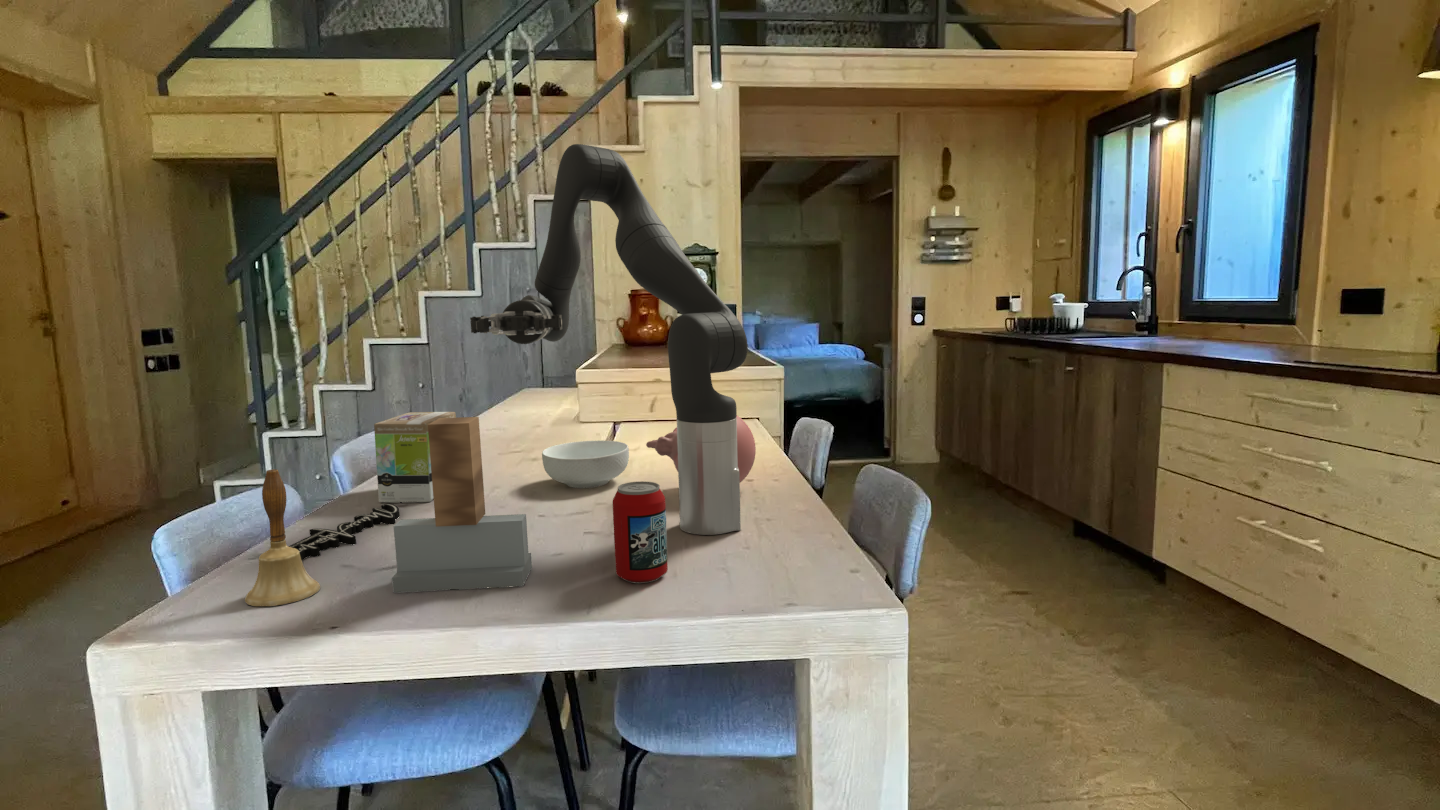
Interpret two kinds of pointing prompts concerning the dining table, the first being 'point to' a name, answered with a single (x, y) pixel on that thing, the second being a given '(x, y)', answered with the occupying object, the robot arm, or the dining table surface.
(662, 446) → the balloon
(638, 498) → the beverage can
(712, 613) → the dining table surface
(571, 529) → the dining table surface
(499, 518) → the ridge
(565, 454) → the cereal bowl
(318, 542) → the nameplate
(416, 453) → the tea box
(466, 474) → the walnut post
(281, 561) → the hand bell
